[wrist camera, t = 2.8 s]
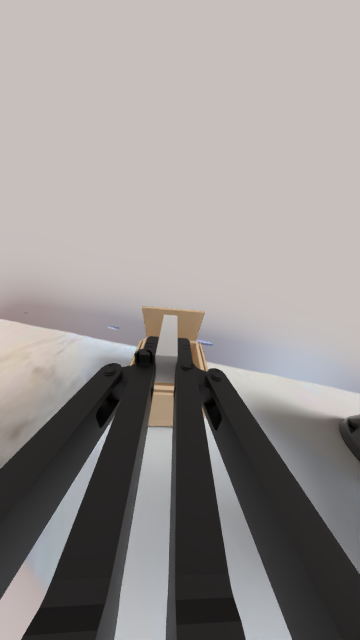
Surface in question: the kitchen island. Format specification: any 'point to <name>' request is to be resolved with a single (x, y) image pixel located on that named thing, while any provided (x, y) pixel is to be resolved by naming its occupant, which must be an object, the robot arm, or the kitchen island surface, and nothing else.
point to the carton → (169, 389)
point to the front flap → (185, 321)
